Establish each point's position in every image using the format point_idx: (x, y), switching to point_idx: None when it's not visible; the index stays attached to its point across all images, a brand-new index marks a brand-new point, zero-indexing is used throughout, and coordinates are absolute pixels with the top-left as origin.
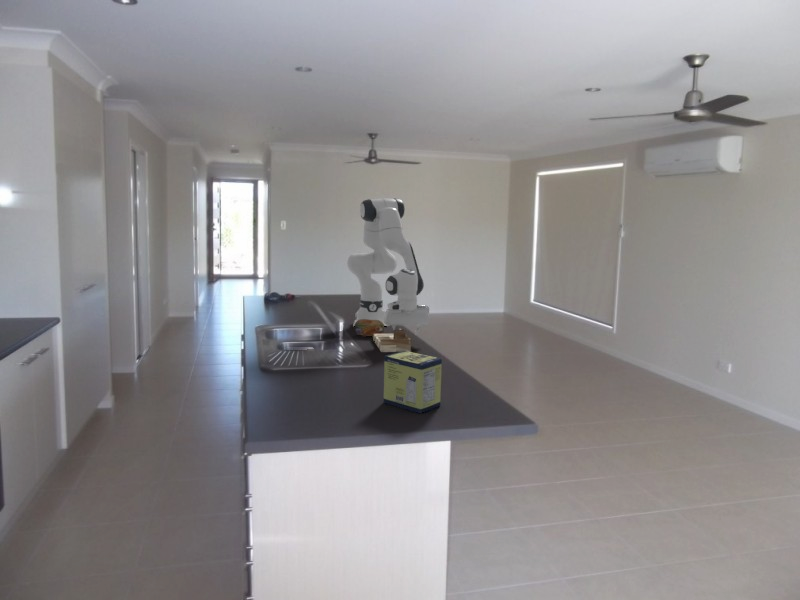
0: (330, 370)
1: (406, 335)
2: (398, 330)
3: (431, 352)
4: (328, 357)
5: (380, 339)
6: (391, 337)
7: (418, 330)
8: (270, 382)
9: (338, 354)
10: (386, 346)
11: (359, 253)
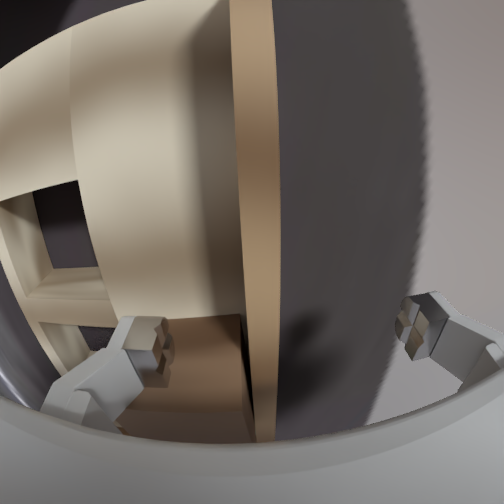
0: None
1: (266, 420)
2: (173, 439)
3: (366, 402)
4: (7, 398)
5: (41, 320)
6: (106, 242)
7: (447, 359)
8: None
9: (5, 383)
10: None
11: None
